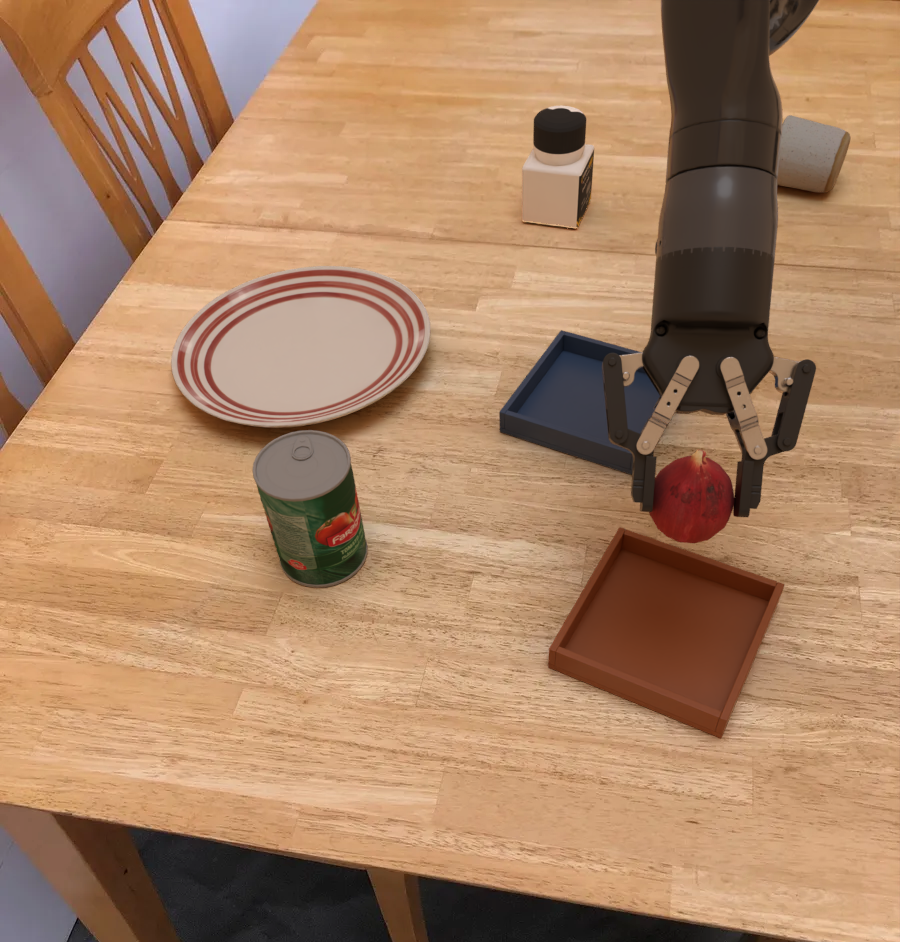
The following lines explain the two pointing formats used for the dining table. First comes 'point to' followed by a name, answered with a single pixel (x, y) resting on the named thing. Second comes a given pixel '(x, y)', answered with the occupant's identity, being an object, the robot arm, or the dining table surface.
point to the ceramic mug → (811, 154)
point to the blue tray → (576, 402)
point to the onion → (692, 499)
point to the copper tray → (667, 630)
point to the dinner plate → (301, 346)
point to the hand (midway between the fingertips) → (693, 513)
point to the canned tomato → (312, 507)
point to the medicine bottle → (558, 168)
